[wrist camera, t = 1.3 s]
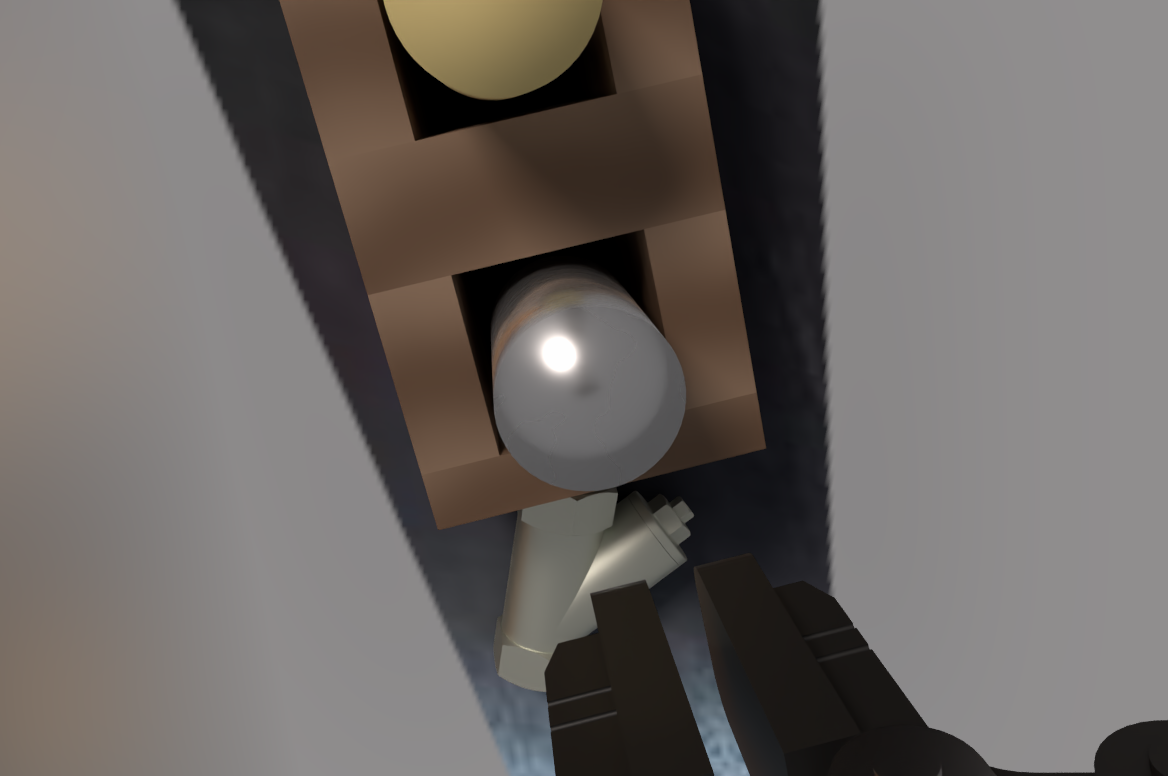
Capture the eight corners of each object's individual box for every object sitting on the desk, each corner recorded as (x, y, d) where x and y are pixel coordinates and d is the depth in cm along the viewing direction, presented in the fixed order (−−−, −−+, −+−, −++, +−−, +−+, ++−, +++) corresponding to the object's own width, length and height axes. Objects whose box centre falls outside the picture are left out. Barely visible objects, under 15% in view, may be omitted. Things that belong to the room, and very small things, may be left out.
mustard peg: (389, -52, 25) (351, -118, 17) (549, -88, 25) (577, -169, 18) (432, 116, 26) (414, 119, 19) (585, 81, 26) (623, 70, 19)
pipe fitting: (683, 466, 37) (517, 452, 35) (714, 506, 33) (530, 493, 32) (649, 642, 39) (490, 636, 37) (674, 698, 35) (500, 694, 34)
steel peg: (474, 274, 27) (472, 332, 20) (617, 240, 27) (666, 285, 20) (509, 410, 29) (519, 511, 21) (646, 377, 29) (701, 465, 22)
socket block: (299, -80, 29) (235, -147, 22) (605, -148, 30) (649, -238, 22) (447, 437, 35) (438, 529, 27) (704, 374, 35) (766, 448, 27)
